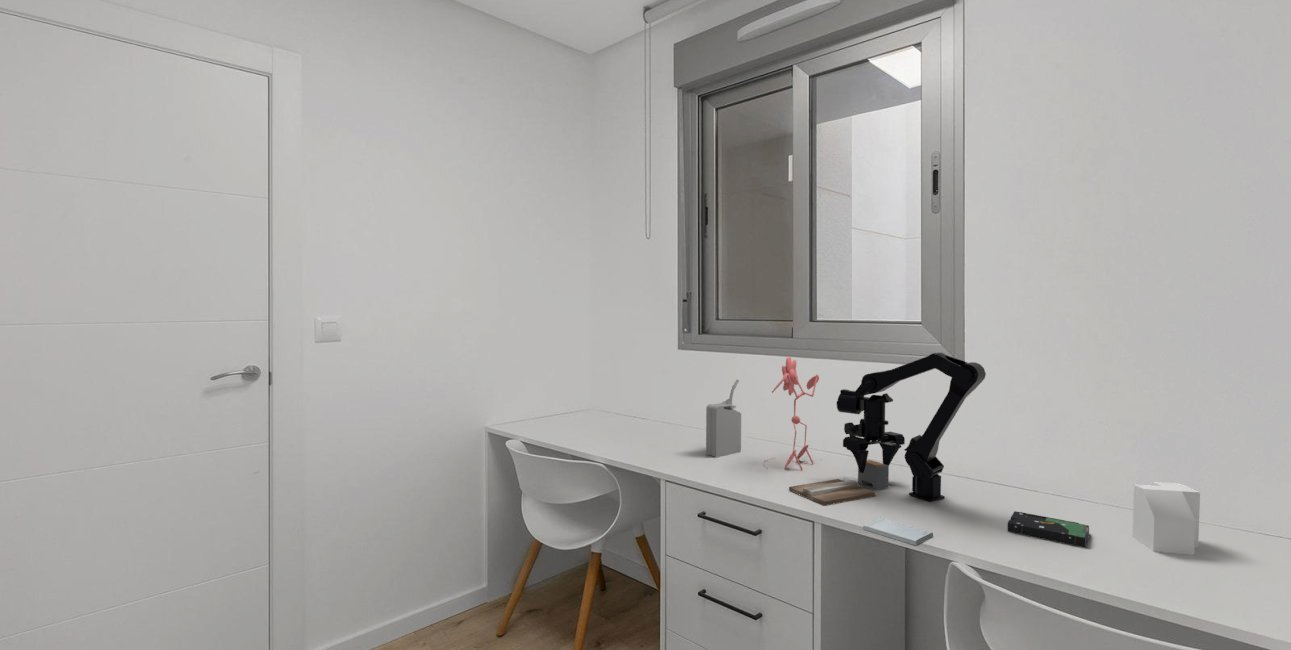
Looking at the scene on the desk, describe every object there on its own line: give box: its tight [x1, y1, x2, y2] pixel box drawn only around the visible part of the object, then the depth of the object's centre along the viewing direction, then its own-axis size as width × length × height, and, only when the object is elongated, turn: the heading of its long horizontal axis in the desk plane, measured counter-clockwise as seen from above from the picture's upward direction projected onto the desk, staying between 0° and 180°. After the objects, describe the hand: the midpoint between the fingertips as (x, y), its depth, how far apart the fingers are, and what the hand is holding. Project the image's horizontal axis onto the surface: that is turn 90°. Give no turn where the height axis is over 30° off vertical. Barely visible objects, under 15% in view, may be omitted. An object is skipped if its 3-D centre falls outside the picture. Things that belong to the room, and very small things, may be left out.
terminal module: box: [857, 459, 890, 490], centre depth 175 cm, size 7×4×7 cm, turn 26°
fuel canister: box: [705, 379, 742, 458], centre depth 212 cm, size 15×5×25 cm, turn 130°
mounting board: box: [788, 478, 877, 506], centre depth 168 cm, size 14×18×2 cm
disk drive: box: [1007, 510, 1090, 549], centre depth 139 cm, size 10×3×15 cm
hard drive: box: [862, 517, 934, 546], centre depth 139 cm, size 2×8×12 cm
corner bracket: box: [1131, 481, 1201, 555], centre depth 133 cm, size 11×11×12 cm
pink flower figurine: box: [762, 356, 823, 471], centre depth 198 cm, size 15×26×35 cm, turn 143°
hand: (873, 470), depth 175 cm, fingers open, 9 cm apart
